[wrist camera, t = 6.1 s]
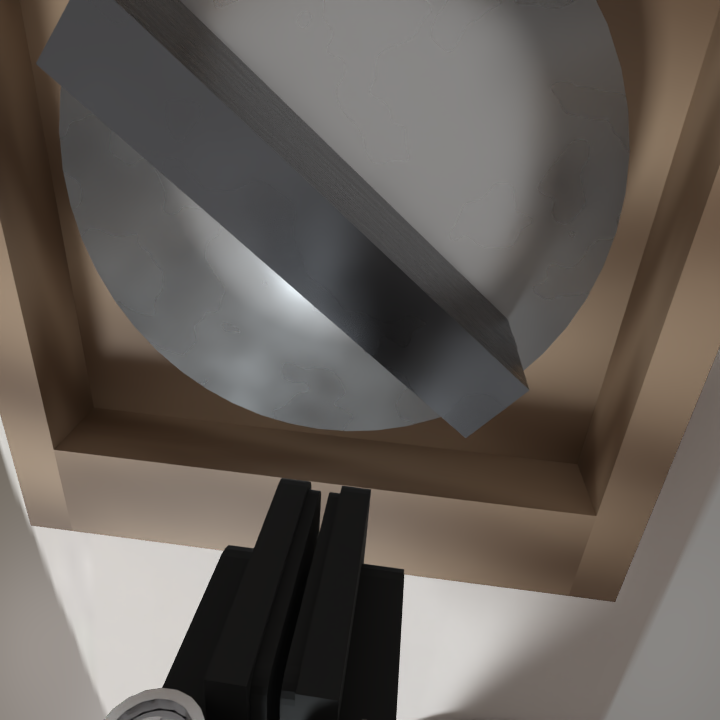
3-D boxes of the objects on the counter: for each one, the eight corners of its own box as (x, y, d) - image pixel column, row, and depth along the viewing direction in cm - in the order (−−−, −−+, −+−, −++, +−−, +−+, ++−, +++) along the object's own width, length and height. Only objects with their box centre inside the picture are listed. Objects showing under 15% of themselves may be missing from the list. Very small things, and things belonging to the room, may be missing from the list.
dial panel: (585, 515, 22) (616, 607, 19) (86, 455, 24) (23, 529, 20) (904, -427, 11) (1146, -671, 7) (-94, -451, 12) (-321, -671, 8)
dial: (726, 178, 15) (864, 234, 10) (357, 474, 20) (336, 596, 16) (310, -340, 11) (228, -617, 6) (5, 195, 17) (-153, 247, 12)
